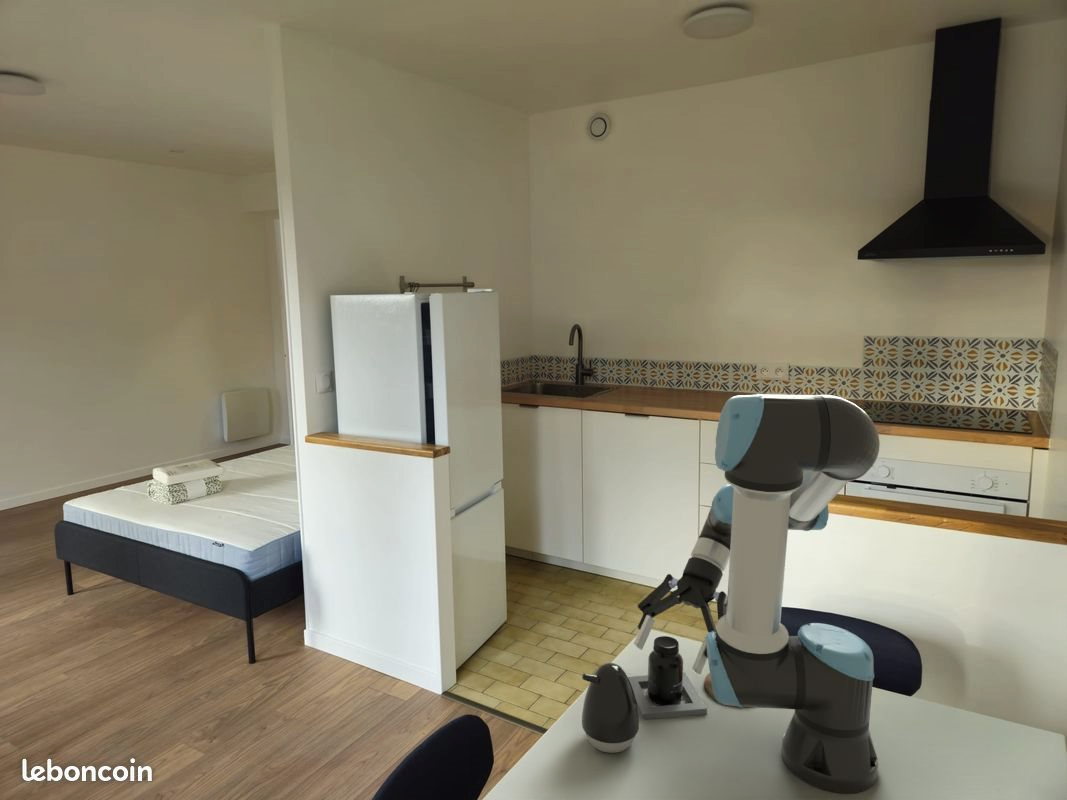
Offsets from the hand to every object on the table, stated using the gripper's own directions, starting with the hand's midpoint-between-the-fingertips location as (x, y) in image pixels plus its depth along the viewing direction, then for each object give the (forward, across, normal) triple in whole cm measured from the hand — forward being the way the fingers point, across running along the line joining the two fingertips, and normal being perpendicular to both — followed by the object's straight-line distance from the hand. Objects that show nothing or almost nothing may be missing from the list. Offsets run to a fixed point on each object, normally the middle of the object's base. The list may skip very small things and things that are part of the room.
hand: (666, 658), depth 138 cm
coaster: (-2, -10, -13) cm, 16 cm away
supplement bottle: (+6, -1, -5) cm, 8 cm away
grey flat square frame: (+6, -1, -4) cm, 8 cm away
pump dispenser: (+19, -1, +8) cm, 21 cm away
